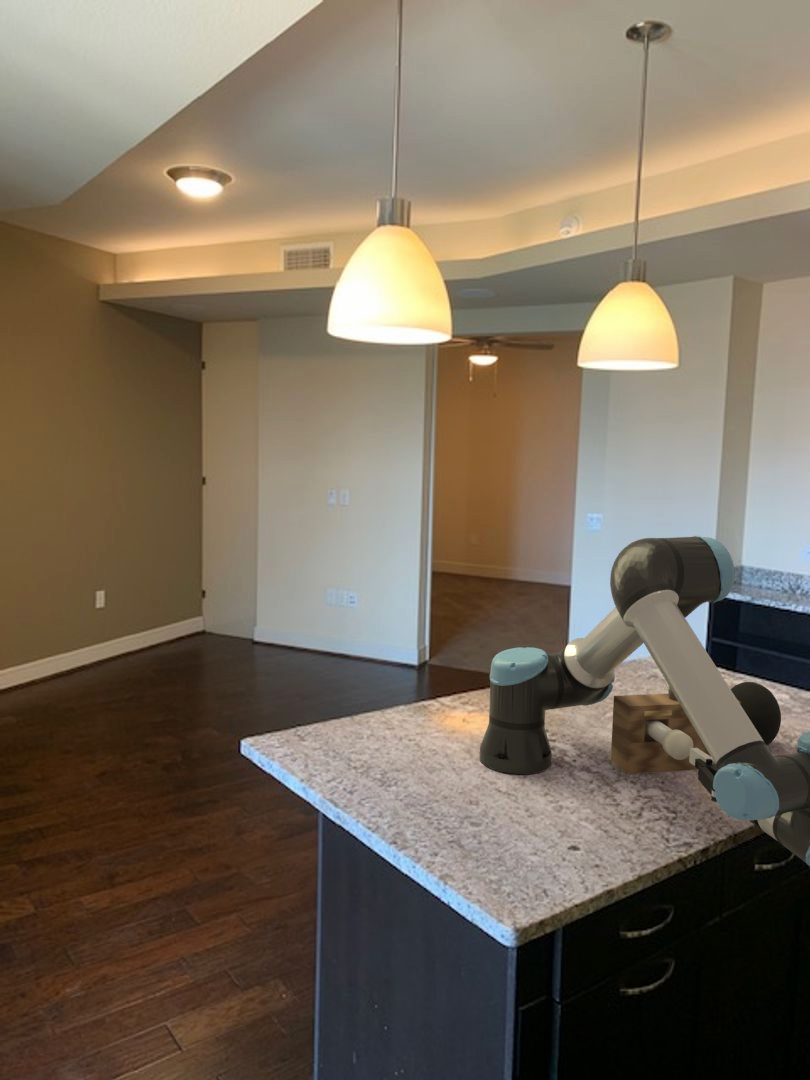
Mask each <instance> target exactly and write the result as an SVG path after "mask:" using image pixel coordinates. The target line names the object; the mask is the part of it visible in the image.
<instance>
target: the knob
mask: <svg viewBox="0 0 810 1080" xmlns="http://www.w3.org/2000/svg"><path fill="white" fill-rule="evenodd" d="M645 733H646V734H648V735H649V736H650V737H652V738H653V739H655V740H656V741H657V742H659V743H660V744H662V746H663V749H664V751H665V752H666V753H667V754H669V755H670V756H671V757H673V758H674V759H677V760H683V759H685V758H687V757H688V756H689V755H690V748H693V741H692V739H691V737H690V736H688V735H687V734H685V733H684V732H682V731H680V730H672V729H670V728H669V727H667V726H666V725H664V724H663V723H661V722H659V721H658V720H656V719H655V720H645Z"/></svg>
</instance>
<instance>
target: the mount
mask: <svg viewBox="0 0 810 1080" xmlns="http://www.w3.org/2000/svg"><path fill="white" fill-rule="evenodd" d="M738 702H739V703H740V704H741V702H740V701H738ZM612 708H613V710H612V725H611V744H610V745H611V747H610V762H611V763H613V764H614V766H616V767H617V768H618V769H619V770H620V771H622V772H623V773H624V774H625V775H633V774H652V773H653V774H654V773H666V772H681V771H683V772H684V771H686V772H687V771H698V769H697V768H696V767H695V766H694V765H693V764H691V763H690V762H689V756H690V755H689V756H688V757H687V758H685V759H683V760H677V759H674V758H673V757H671V756H670V755H669V754H667V753H666V752H665V751H664V749H663V746H662V744H660V743H659V742H657V741H656V740H655V739H653V738H652V737H650V736H649V735H648V734H646V733H645V720H655V719H656V720H658V721H659V722H661V723H663V724H664V725H666V726H667V727H669V728H670V729H672V730H680V731H682V732H684V733H685V734H687V735H688V736H690V737H691V739H692V741H693V748H698V749H700V750H701V751H703V752H704V753H706V754H707V755H709V756H710V754H709V752H708V750H707V749H706V747H705V745H704V744H703V742H702V740H701V739H700V737H699V735H698V734H697V732H696V730H695V729H694V727H693V725H692V723H691V722H690V720H689V718H688V717H687V715H686V713H685V712H684V710H683V708H682V707H681V705H680V703H679V702H678V701H674V700H671V699H669V693H653V694H631V695H630V694H629V695H628V694H627V695H626V694H625V695H624V694H623V695H614V696H613V707H612ZM710 757H711V756H710Z"/></svg>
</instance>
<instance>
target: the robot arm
mask: <svg viewBox="0 0 810 1080" xmlns="http://www.w3.org/2000/svg"><path fill="white" fill-rule="evenodd" d="M734 573H735V565H734V560H733V559H732V556H731V554H730V552H729V550H728V549H727V548H726V546H725V545H724V544H723V543H722V542H721V541H719V540H718V539H716V538H712V537H708V536H701V535H693V536H677V537H645V538H640V539H638V540H637V539H636V540H635V541H632V542H630V543H629V544H627V545H626V546H625V547H624V548H622V550H621V551H620V552H619V553H618V554H617V556H616V558H615V560H614V561H613V564H612V567H611V571H610V577H609V580H610V582H609V585H610V586H609V587H610V592H611V597H612V600H613V604H614V606H615V607H614V608H613V609H612V610H611V611H610V612H609V613H608V614H607V615H606V616H605V617H604V618H603V619H602V620H601V621H599V622H598V624H597V625H596V626H594V628H593V629H592V630H590V631H589V632H588V634H587V635H585V636H584V637H579V638H574V639H572V640H571V641H570V642H569V643H567V644H566V646H564V647H563V648H562V649H561V650H560V651H558V652H554V653H547V652H546V651H545V650H543V649H541V648H538V647H531V646H530V647H529V646H527V647H521V646H520V647H514V648H513V647H512V648H508V649H505V650H502V651H500V652H498V653H497V654H495V656H494V657H493V658H492V661H491V664H490V673H489V680H490V683H489V709H488V710H489V711H488V712H489V715H488V718H489V719H488V724H487V728H486V730H485V733H484V736H483V738H482V740H481V743H480V746H479V761H480V763H481V764H483V765H484V766H485V767H487V768H488V769H492V770H494V771H498V772H502V773H506V774H514V775H515V774H516V775H529V774H530V775H531V774H537V773H540V772H541V773H542V772H544V771H547V770H548V769H549V768H551V766H552V760H553V759H552V758H553V753H552V749H551V746H550V741H549V738H548V735H547V731H546V726H545V725H546V711H550V710H555V709H563V708H571V707H579V706H590V705H591V706H593V705H594V704H597V703H598V704H599V703H601V702H603V701H604V700H605V699H607V698H608V697H609V695H610V694H611V693H612V690H613V688H614V685H613V683H615V669H616V668H617V667H618V666H619V665H621V664H622V663H623V662H624V661H626V659H628V658H629V657H630V656H631V655H632V654H633V653H634V652H636V650H638V649H639V648H640V647H641V646H642V645H643V644H644V646H645V648H646V649H647V651H648V653H649V655H650V656H651V658H652V659H653V661H654V663H655V665H656V667H657V668H658V670H659V672H660V673H661V674H662V676H663V678H664V680H665V681H666V683H668V685H669V686H670V688H671V690H672V691H673V693H674V695H675V697H676V698H677V700H678V702H679V703H680V705H681V707H682V708H683V710H684V712H685V713H686V715H687V717H688V718H689V720H690V722H691V723H692V725H693V727H694V729H695V730H696V732H697V734H698V735H699V737H700V739H701V740H702V742H703V744H704V745H705V747H706V749H707V750H708V752H709V754H710V756H711V757H710V756H709V755H707V754H706V753H704V752H703V751H701V750H700V749H698V748H690V756H689V762H690V763H691V764H693V765H694V766H695V767H696V768H697V769H698V770H697V779H698V781H699V782H700V783H701V785H702V786H703V787H704V788H705V789H706V791H707V792H708V793H709V795H710V796H711V801H712V802H715V803H717V804H718V806H719V808H720V809H721V810H722V811H723V812H724V813H725V814H726V815H728V817H730V818H732V819H734V820H736V821H740V822H750V823H751V824H752V825H754V826H755V827H757V828H758V829H759V830H761V831H763V832H764V833H766V835H768V836H770V837H772V838H773V839H774V840H775V841H776V842H778V843H779V844H780V845H782V846H783V847H785V849H787V850H788V851H790V852H791V853H792V854H793V855H795V856H796V857H798V858H799V859H800V860H801V861H802V862H804V863H805V864H806V865H808V867H809V868H810V731H805V732H803V733H802V734H801V735H800V736H799V737H798V741H797V745H796V746H795V748H796V752H792V753H787V754H782V755H775V756H774V753H772V751H771V750H770V748H769V747H768V746H769V745H766V744H765V742H764V741H763V739H762V738H761V736H760V735H759V733H758V731H757V730H756V728H755V727H754V725H753V724H752V722H751V721H750V719H749V717H748V716H747V714H746V713H745V711H744V710H743V708H742V706H741V705H740V703H739V702H738V700H737V699H736V697H735V695H734V694H733V692H732V691H731V688H730V686H729V684H728V683H727V681H726V680H725V678H724V677H723V675H722V674H721V672H720V671H719V669H718V668H717V666H716V664H715V663H714V661H713V659H712V658H711V656H710V655H709V654H708V653H709V652H707V650H706V649H705V647H704V645H703V644H702V642H701V641H700V639H699V637H698V636H697V634H696V633H695V631H694V630H693V628H692V627H691V624H689V622H688V620H687V619H686V618H687V617H689V615H690V614H692V613H693V612H694V611H695V610H696V609H698V608H699V607H700V606H702V605H703V604H706V603H710V604H712V603H714V604H715V603H716V602H719V601H723V600H724V599H725V598H727V597H728V595H729V594H730V592H731V591H732V589H733V586H734V584H735V583H734V582H735V574H734Z"/></svg>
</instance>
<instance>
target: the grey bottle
mask: <svg viewBox="0 0 810 1080" xmlns="http://www.w3.org/2000/svg"><path fill="white" fill-rule="evenodd" d="M668 694H669V699H671V700H674V701H678V700H677V698H676V697H675V695H674V693H673V691H672V690H671V688H670V687H669V692H668Z"/></svg>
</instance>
